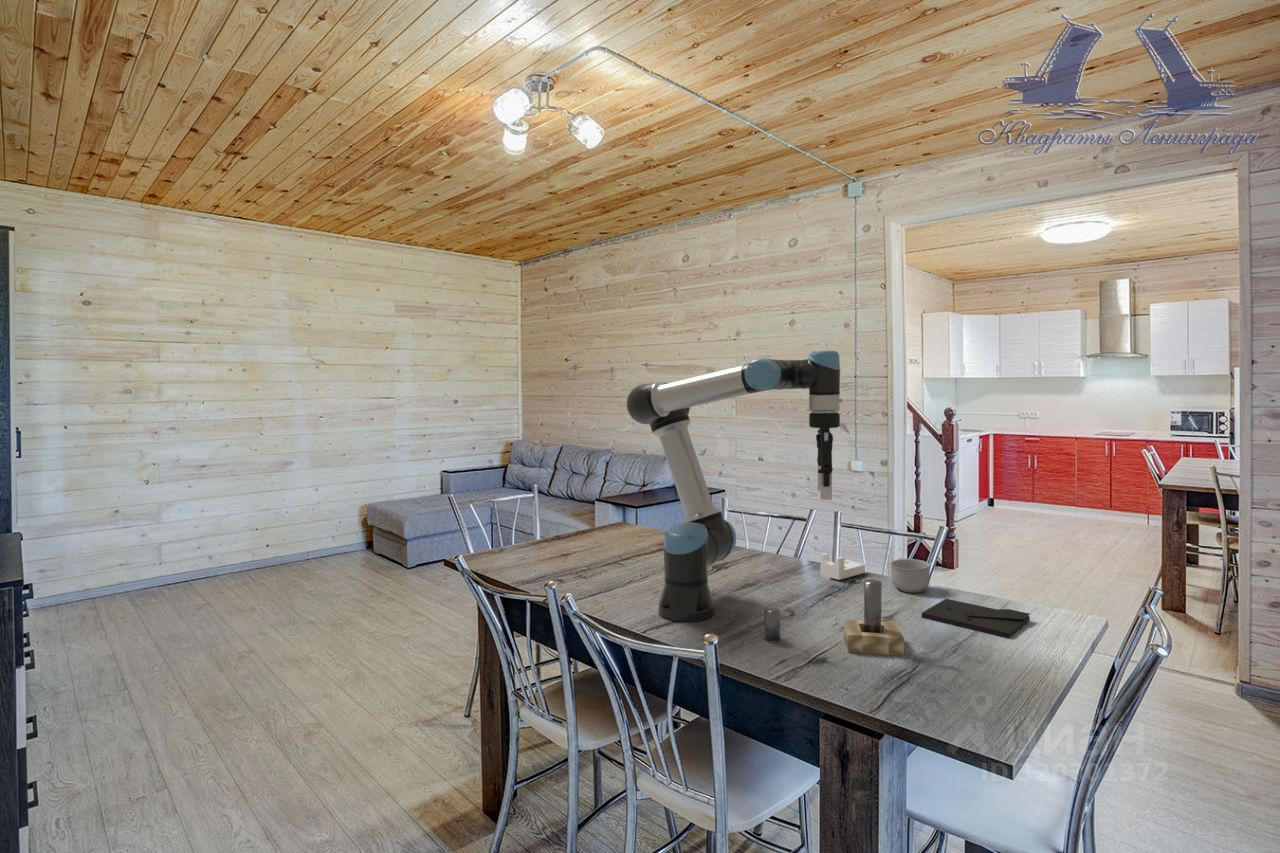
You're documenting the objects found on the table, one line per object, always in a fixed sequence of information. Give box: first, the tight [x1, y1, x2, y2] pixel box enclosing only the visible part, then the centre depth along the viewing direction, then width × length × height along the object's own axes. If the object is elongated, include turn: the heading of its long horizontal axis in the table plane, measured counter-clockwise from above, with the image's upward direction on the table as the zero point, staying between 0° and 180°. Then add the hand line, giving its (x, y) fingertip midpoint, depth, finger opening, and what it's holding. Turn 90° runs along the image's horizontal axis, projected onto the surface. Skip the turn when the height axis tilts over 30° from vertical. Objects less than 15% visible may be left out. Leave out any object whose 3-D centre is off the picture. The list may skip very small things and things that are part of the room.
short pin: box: [763, 607, 781, 642], centre depth 159 cm, size 4×4×7 cm
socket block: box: [843, 619, 905, 656], centre depth 154 cm, size 12×10×4 cm
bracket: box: [820, 552, 866, 581], centre depth 210 cm, size 13×7×8 cm, turn 125°
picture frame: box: [921, 598, 1031, 640], centre depth 169 cm, size 16×3×21 cm
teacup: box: [889, 557, 931, 594], centre depth 196 cm, size 14×11×8 cm
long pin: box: [863, 579, 883, 633], centre depth 154 cm, size 4×4×15 cm
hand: (824, 495), depth 169 cm, fingers open, 13 cm apart
